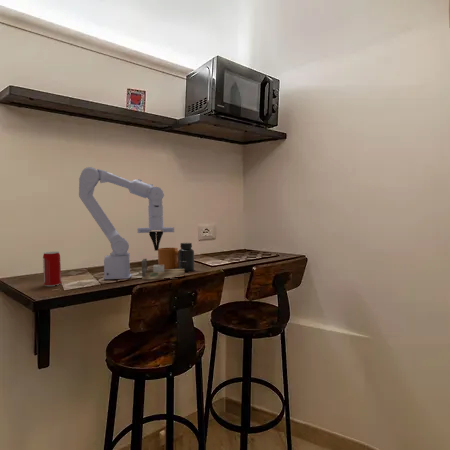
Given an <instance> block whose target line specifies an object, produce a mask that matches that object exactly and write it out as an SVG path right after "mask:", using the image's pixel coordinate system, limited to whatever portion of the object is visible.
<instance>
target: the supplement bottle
mask: <svg viewBox="0 0 450 450" xmlns="http://www.w3.org/2000/svg"><path fill="white" fill-rule="evenodd" d="M177 269H184V271H185V273H191V272H194V271H195V251H194V249H193V245H192V242H180V249H179V250H178V268H177Z"/></svg>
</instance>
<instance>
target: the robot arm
mask: <svg viewBox="0 0 450 450" xmlns="http://www.w3.org/2000/svg"><path fill="white" fill-rule="evenodd" d="M78 182H79V183H78V198H79V199H80V200H81V202H82V204H83V205H84V206H85V208H86V209H87V211H88V212H89V214H90V215H91V217H92V218H93V220H94V221H95V222H96V224H97V225H98V227H99V228H100V229H101V231H102V233H103V234H104V235H105V237H106V238H107V240H108V242H109V243H110V247H111V248H110V249H111V250H112V251H111V253H110V254H109V255H107V254H106V255H105V256H104V259H103V269H104V270H103V271H104V272H103V273H104V274H103V275H104V277H103V279H104V280H117V279H118V280H119V279H120V280H121V279H123V280H124V279H130V278H131V277H132V275H133V273H131V265H130V264H131V263H130V261H131V260H130V253H129V252H128V251H129V248H130V244H129V241H127V240H126V239H125V238H124V237H122V236H121V235H120V233H119V232H118V231H117V230H116V229H117V228H115V226H114V225H113V223H112V221H111V219H109V218H108V216H107V214H106V212H104V210H103V208H102V207H101V205H100V204H99V202H98V201H97V200H96V198H95V197H94V192H95V188H96V186H97V185H98V183H99V182H100V184H105V183H110V184H113V185H117V186H119V187H122V188H125V189H127V190H128V191H129V193H130V194H133V195H135V196H138V197H140V198H144V199H148V227H137V233H138V234H144V233H145V234H146V233H148V234H149V237H150V239H151V242H152V245H153V248H154V252H158V249H159V247H160V243H161V240H162V236H163V234H164V233H175V227H172V226H170V227H168V226H167V227H164V209H163V208H164V207H163V206H164V205H163V199H164V196H165V194H164V191H163V189H162V188H161V187H159V186H154V184H151V183H150V184H149V183H146V182H143V181H142V179H140V178H138V179H136V178H135V179H133V180H129V179H127V178H124V177H121V176H118V175H116V174H114V173H112V172H109V171H107V170H103V169H100V168H97V169H96V168H95V167H93V166H88V167H86V168H84V169H82V170H81V173H80V176H79V178H78Z"/></svg>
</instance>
